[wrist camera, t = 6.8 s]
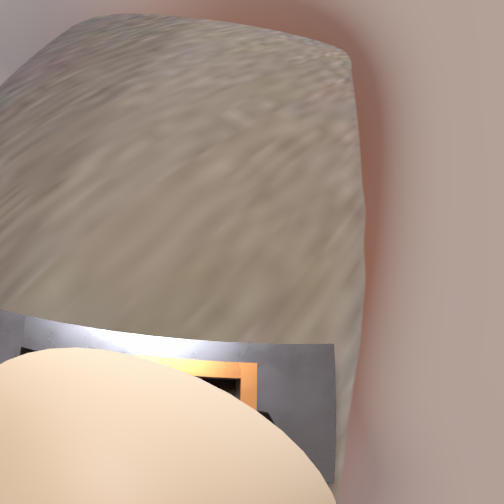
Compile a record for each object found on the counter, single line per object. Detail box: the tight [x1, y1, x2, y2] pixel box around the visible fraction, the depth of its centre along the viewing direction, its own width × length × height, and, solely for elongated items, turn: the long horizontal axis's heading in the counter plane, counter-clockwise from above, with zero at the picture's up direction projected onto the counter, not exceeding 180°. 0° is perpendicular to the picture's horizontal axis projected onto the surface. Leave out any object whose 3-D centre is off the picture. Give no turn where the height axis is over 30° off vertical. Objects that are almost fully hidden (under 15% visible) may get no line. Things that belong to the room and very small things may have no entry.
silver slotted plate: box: [0, 310, 336, 484], centre depth 17 cm, size 28×10×3 cm, turn 89°
